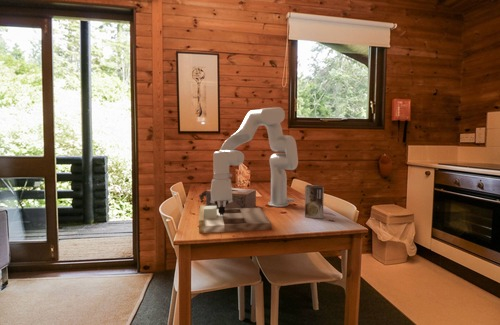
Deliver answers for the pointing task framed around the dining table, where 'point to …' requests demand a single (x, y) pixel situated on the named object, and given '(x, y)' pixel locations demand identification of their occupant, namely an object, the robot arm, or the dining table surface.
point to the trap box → (234, 220)
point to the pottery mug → (202, 195)
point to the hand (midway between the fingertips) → (221, 214)
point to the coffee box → (314, 201)
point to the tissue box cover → (236, 199)
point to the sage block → (210, 211)
